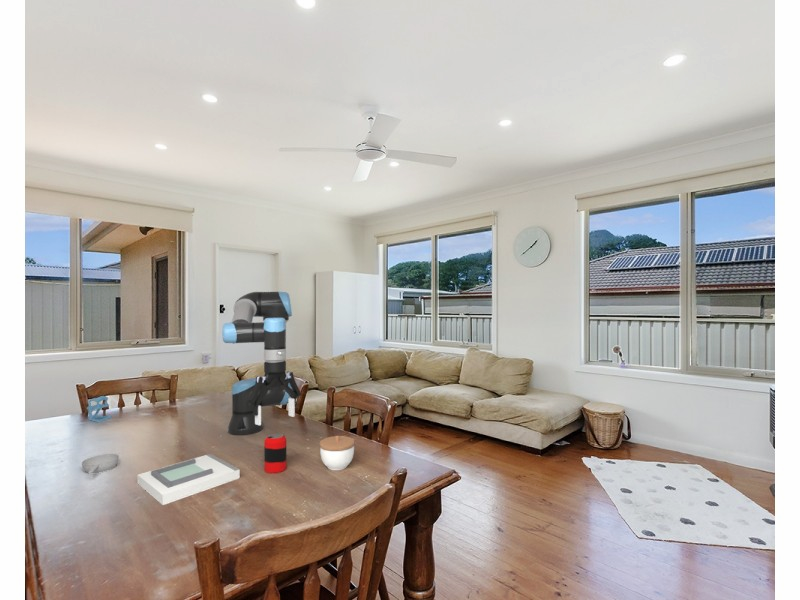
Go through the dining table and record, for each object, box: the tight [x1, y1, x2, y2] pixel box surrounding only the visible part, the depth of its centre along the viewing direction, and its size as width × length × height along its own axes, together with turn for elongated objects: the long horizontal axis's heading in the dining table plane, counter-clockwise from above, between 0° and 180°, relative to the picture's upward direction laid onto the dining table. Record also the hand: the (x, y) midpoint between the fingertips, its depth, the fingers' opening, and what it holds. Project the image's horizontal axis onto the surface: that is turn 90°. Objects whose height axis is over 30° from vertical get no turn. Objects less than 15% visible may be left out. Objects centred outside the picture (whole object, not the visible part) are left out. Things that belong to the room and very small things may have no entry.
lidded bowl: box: [319, 435, 355, 471], centre depth 149 cm, size 13×13×11 cm
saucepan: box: [81, 453, 120, 474], centre depth 144 cm, size 11×18×4 cm, turn 23°
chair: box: [86, 395, 112, 423], centre depth 209 cm, size 8×8×12 cm
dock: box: [137, 453, 241, 506], centre depth 137 cm, size 24×22×4 cm
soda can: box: [263, 432, 288, 474], centre depth 146 cm, size 8×8×12 cm
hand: (275, 420), depth 146 cm, fingers open, 13 cm apart
